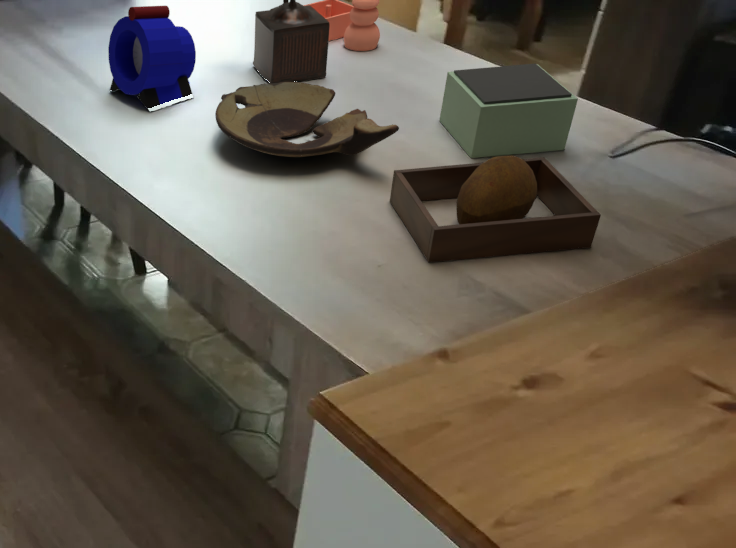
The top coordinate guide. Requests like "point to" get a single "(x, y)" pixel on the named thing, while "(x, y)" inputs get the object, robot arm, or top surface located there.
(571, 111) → the stand
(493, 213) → the potato
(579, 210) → the tray
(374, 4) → the pottery
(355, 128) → the broken ceramic bowl
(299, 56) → the brown coffee grinder
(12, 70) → the top surface
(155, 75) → the blue spotlight
